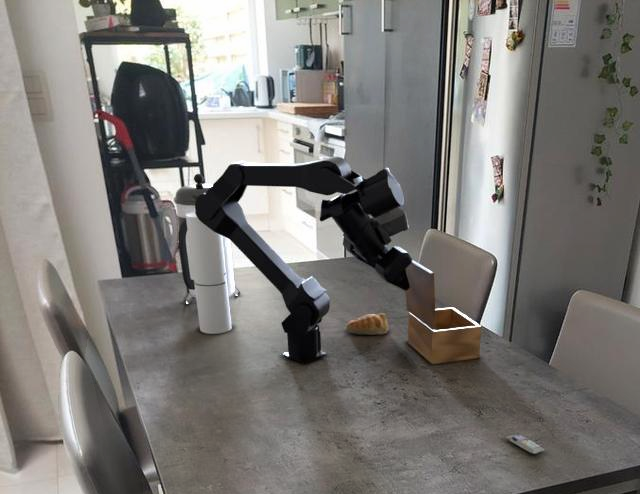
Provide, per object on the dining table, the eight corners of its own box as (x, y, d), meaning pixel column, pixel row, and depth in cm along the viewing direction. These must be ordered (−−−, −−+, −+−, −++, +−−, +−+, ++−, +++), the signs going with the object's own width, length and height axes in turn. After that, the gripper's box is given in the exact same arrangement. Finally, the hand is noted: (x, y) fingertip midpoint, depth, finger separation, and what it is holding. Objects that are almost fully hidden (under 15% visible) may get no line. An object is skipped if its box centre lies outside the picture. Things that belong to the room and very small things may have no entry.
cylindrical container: (235, 324, 163) (223, 211, 150) (226, 334, 157) (214, 217, 144) (205, 323, 163) (191, 210, 150) (196, 333, 157) (181, 217, 144)
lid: (407, 256, 142) (403, 257, 142) (434, 272, 131) (430, 273, 131) (410, 309, 149) (406, 310, 148) (435, 329, 138) (432, 330, 137)
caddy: (451, 337, 155) (453, 307, 152) (479, 358, 144) (481, 326, 141) (407, 342, 152) (408, 311, 149) (432, 364, 141) (433, 331, 138)
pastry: (349, 337, 155) (349, 320, 153) (343, 328, 161) (343, 311, 159) (390, 334, 157) (390, 317, 155) (382, 325, 162) (383, 309, 160)
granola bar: (544, 453, 109) (545, 447, 108) (533, 456, 108) (534, 451, 107) (515, 436, 114) (516, 430, 113) (505, 439, 113) (505, 434, 112)
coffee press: (173, 296, 182) (155, 172, 167) (232, 288, 188) (220, 168, 173) (188, 314, 169) (170, 181, 153) (251, 306, 175) (240, 177, 159)
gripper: (412, 208, 122) (450, 268, 133) (365, 179, 135) (403, 236, 146) (366, 253, 123) (408, 309, 134) (323, 220, 136) (364, 274, 147)
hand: (396, 280), depth 141 cm, fingers open, 9 cm apart
